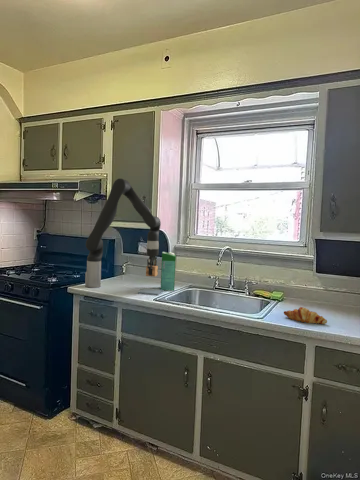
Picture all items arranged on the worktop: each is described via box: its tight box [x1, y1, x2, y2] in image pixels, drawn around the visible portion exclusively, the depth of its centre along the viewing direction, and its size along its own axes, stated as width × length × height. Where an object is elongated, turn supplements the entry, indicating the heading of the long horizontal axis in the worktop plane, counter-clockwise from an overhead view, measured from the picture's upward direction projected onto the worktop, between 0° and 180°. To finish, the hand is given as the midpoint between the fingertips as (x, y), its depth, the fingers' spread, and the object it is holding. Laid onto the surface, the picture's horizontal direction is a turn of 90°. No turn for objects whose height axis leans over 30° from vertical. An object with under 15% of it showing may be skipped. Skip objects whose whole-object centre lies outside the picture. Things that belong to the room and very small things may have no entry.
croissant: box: [283, 306, 328, 325], centre depth 179 cm, size 21×10×8 cm, turn 60°
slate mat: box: [137, 287, 164, 296], centre depth 228 cm, size 13×13×1 cm
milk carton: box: [160, 251, 177, 292], centre depth 239 cm, size 9×9×25 cm
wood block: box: [145, 265, 159, 278], centre depth 227 cm, size 6×6×6 cm
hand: (151, 274), depth 227 cm, fingers closed on wood block, 6 cm apart
